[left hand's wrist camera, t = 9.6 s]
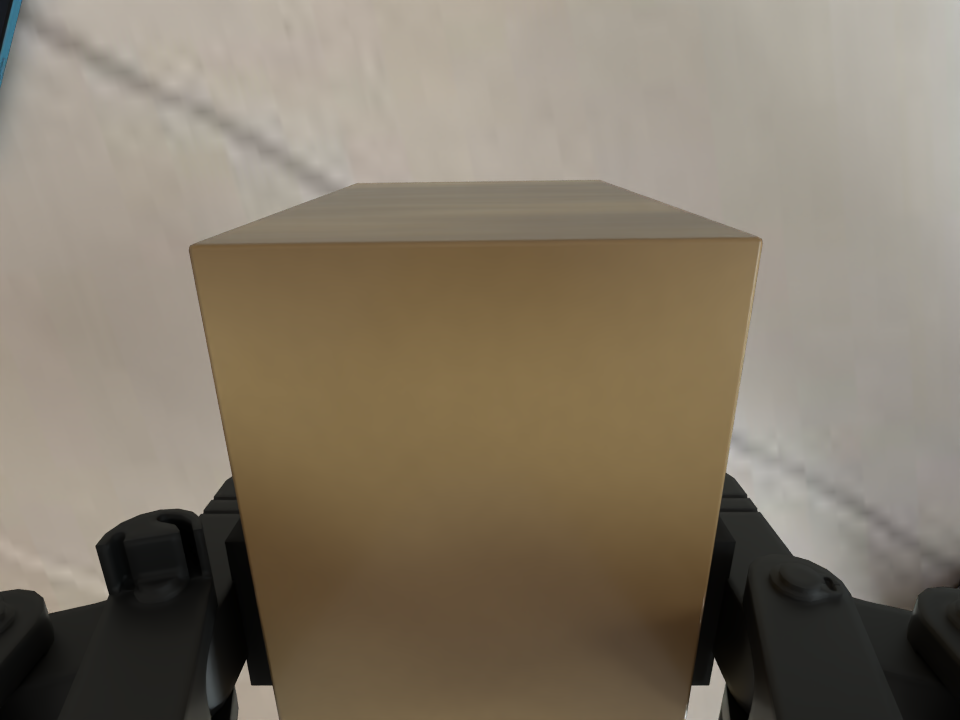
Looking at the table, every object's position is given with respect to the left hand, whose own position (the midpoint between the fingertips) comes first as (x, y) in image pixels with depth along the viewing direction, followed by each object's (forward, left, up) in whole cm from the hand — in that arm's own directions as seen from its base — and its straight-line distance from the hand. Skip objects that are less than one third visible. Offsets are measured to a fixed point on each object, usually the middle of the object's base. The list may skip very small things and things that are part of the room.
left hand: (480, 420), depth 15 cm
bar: (-3, +25, -1) cm, 26 cm away
